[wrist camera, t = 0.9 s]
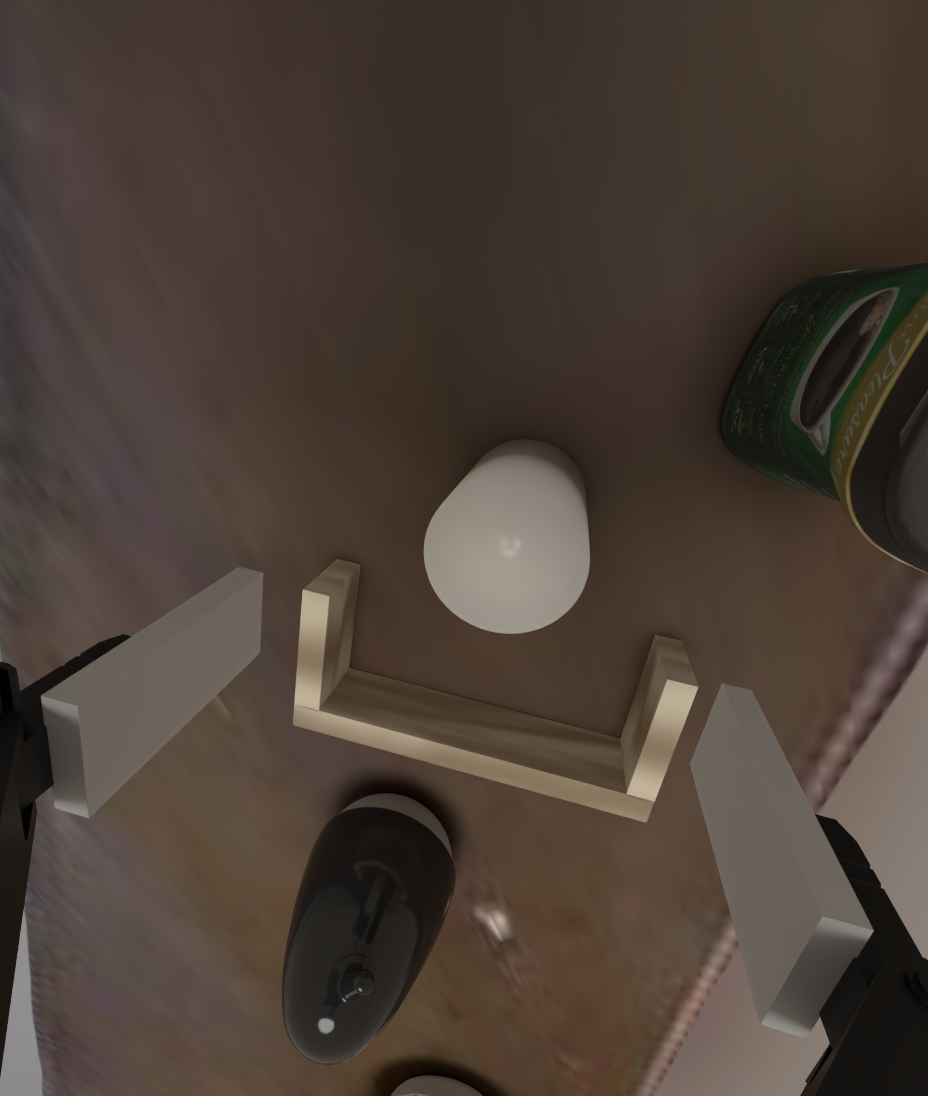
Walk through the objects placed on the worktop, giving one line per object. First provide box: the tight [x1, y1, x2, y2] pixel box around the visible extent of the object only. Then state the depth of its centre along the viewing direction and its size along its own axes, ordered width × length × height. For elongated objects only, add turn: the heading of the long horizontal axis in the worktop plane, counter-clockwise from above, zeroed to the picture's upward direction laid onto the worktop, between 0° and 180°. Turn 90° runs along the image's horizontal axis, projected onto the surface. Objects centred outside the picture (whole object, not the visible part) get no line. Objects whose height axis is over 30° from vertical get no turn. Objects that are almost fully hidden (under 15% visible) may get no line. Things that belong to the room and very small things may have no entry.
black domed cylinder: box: [282, 793, 456, 1065], centre depth 36 cm, size 10×10×15 cm
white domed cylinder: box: [424, 439, 590, 634], centre depth 28 cm, size 7×7×10 cm
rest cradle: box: [293, 559, 698, 823], centre depth 35 cm, size 10×22×5 cm, turn 80°
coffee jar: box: [722, 263, 928, 573], centre depth 20 cm, size 10×8×19 cm
